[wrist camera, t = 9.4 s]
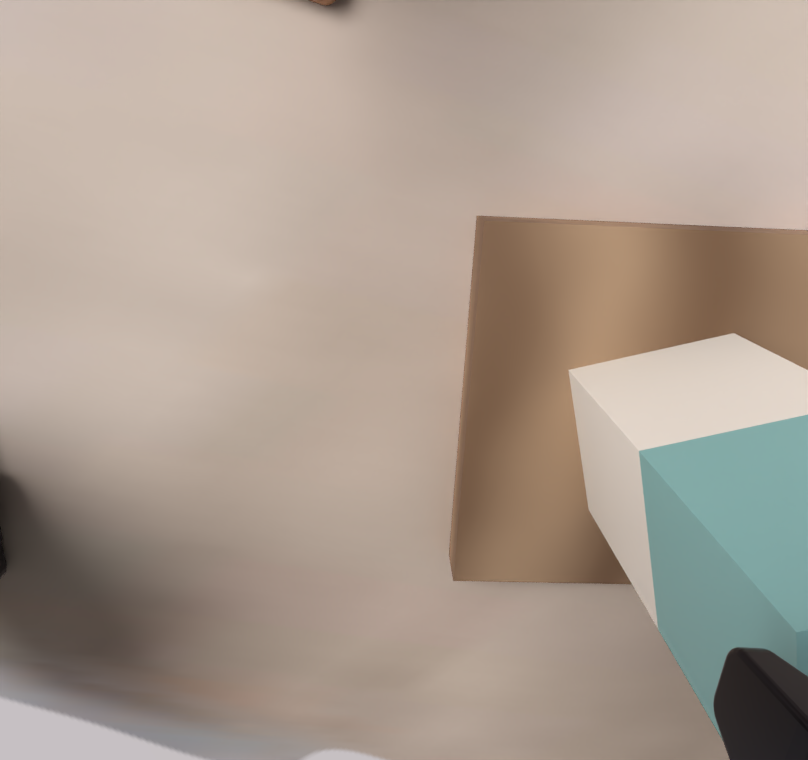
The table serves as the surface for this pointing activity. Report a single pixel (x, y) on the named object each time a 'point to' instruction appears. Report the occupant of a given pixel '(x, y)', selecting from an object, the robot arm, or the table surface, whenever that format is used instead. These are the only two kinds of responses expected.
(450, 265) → the table surface
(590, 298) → the board
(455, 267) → the table surface
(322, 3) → the gingerbread man figurine
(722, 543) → the block
